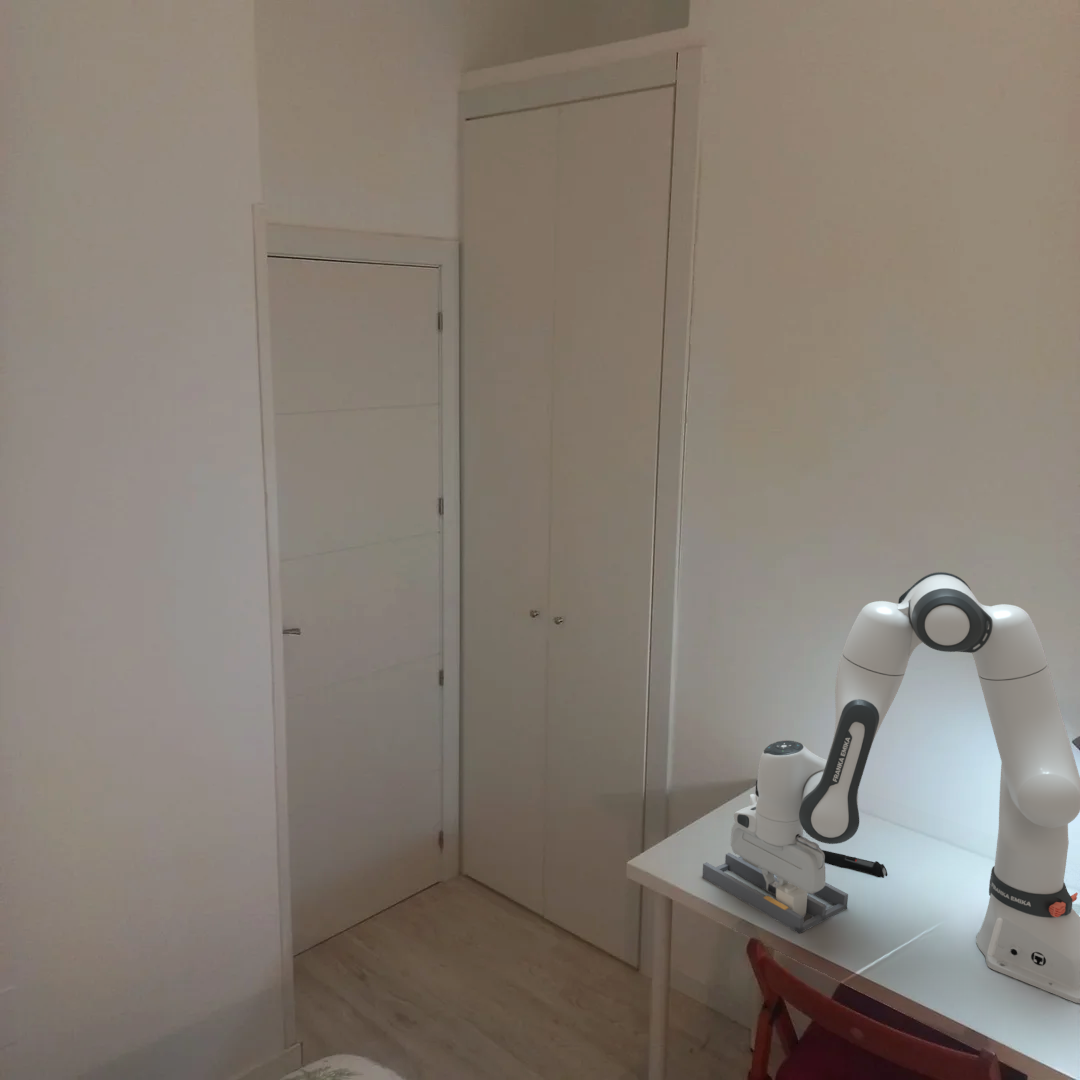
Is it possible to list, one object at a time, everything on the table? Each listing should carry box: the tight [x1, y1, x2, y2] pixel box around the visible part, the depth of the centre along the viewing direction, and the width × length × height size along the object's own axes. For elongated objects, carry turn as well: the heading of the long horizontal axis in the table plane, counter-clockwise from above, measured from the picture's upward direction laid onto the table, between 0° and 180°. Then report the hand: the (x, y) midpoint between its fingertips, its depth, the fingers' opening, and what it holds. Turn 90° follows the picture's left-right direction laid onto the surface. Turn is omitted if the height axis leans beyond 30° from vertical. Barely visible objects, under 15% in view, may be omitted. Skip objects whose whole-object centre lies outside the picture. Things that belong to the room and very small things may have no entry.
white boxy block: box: [775, 882, 809, 917], centre depth 192 cm, size 4×4×6 cm
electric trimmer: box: [821, 849, 888, 878], centre depth 210 cm, size 4×16×3 cm, turn 61°
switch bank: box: [702, 852, 849, 934], centre depth 199 cm, size 24×14×4 cm, turn 37°
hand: (774, 892), depth 195 cm, fingers closed
